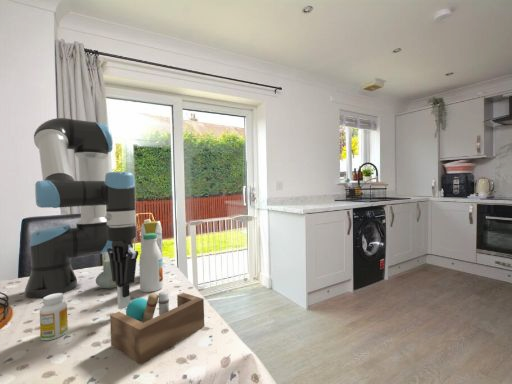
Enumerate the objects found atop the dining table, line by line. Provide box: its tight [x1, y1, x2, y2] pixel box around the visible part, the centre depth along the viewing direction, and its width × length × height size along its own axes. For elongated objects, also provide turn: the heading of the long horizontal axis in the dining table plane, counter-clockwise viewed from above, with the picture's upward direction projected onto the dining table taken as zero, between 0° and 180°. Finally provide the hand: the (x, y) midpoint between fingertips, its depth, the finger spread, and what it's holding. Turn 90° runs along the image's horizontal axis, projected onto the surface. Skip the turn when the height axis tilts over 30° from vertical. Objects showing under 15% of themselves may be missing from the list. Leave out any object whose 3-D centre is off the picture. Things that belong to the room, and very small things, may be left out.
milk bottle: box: [139, 233, 164, 293], centre depth 94 cm, size 8×8×20 cm
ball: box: [125, 297, 148, 322], centre depth 70 cm, size 6×6×6 cm
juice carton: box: [140, 218, 164, 268], centre depth 108 cm, size 9×8×24 cm
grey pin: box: [158, 290, 170, 316], centre depth 67 cm, size 2×2×8 cm
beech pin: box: [141, 292, 159, 323], centre depth 67 cm, size 2×2×8 cm
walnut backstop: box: [109, 292, 205, 365], centre depth 62 cm, size 12×18×7 cm
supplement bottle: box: [39, 292, 69, 341], centre depth 64 cm, size 5×5×10 cm
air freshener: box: [95, 258, 117, 289], centre depth 98 cm, size 11×8×10 cm
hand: (124, 307), depth 74 cm, fingers closed
